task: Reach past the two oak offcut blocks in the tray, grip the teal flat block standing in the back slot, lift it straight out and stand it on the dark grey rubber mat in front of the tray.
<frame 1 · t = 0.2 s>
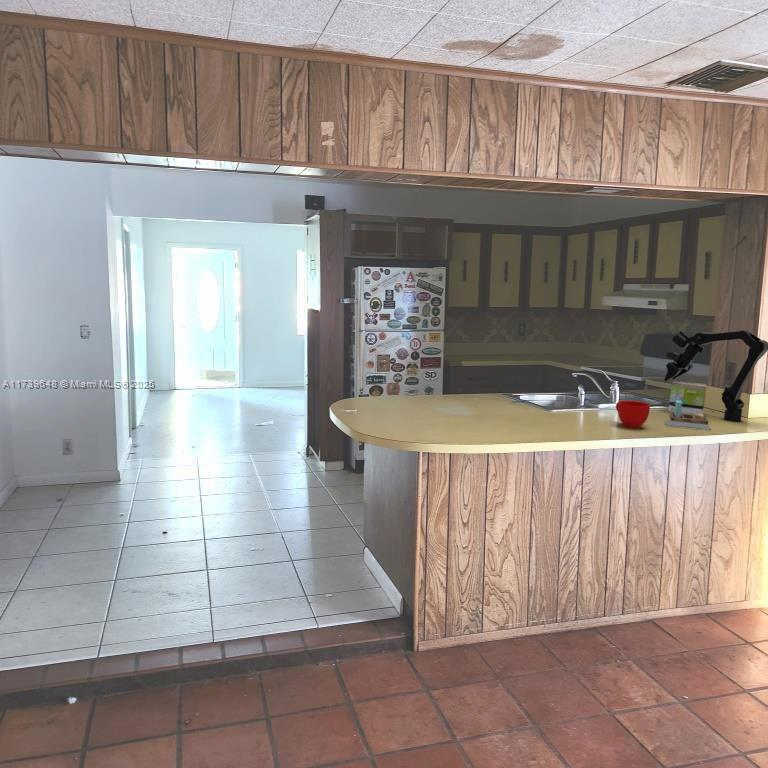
hand: (668, 379, 328), 15 cm above the worktop, tool tilted 30°, fingers open, 9 cm apart
offcut upper: (698, 417, 303), point 2 cm above the worktop, touching offcut lower
mat: (686, 426, 293), on the worktop
offcut lower: (697, 420, 303), point 1 cm above the worktop, touching offcut upper, tray
teal flat block: (676, 418, 306), point 1 cm above the worktop, touching tray
tea box: (685, 413, 324), on the worktop
ceramic cup: (628, 425, 291), on the worktop
tray: (686, 421, 305), on the worktop
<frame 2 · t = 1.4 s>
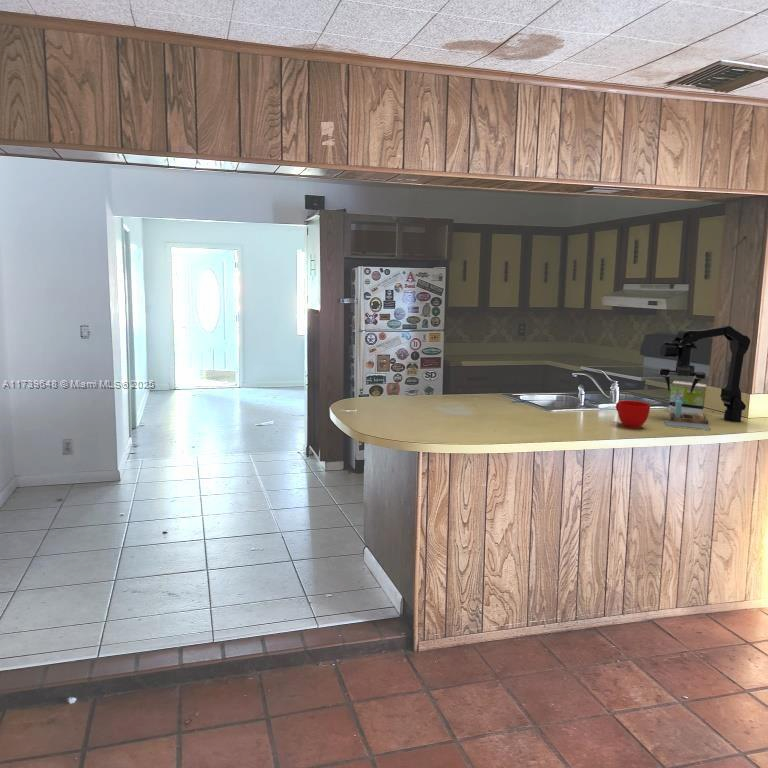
hand: (679, 392, 304), 13 cm above the worktop, tool pointing down, fingers open, 9 cm apart
nothing on the worktop moved.
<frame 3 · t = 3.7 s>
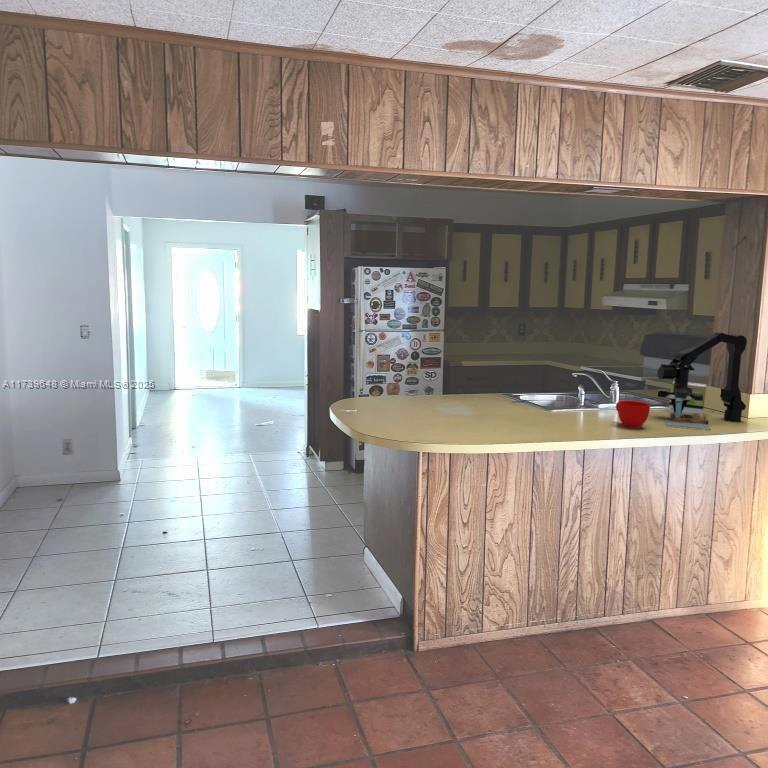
hand: (677, 413, 305), 3 cm above the worktop, tool pointing down, fingers closed on teal flat block, 2 cm apart
teal flat block: (676, 418, 306), point 1 cm above the worktop, touching gripper, tray
everything else where it was.
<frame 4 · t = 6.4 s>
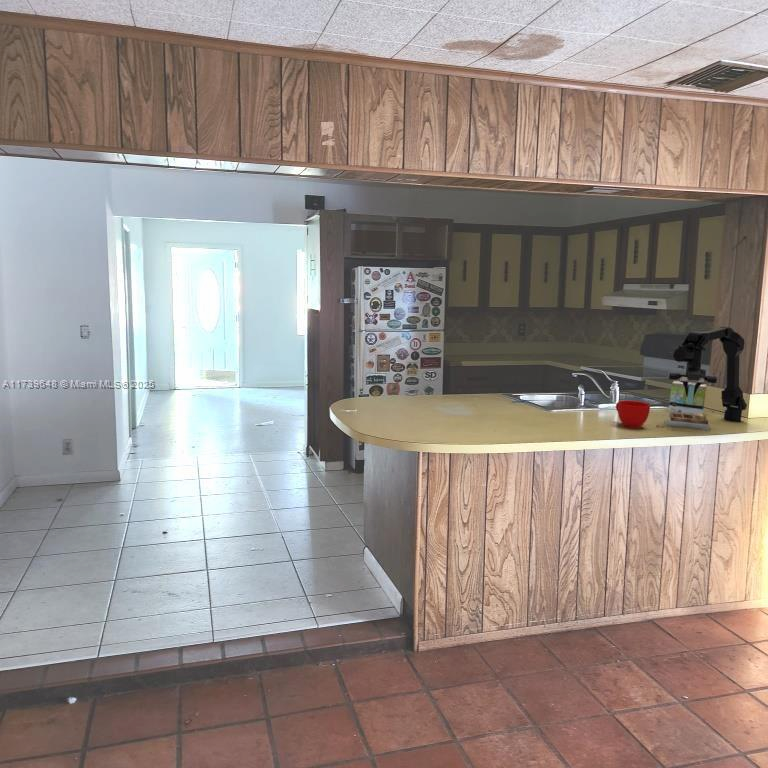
hand: (689, 397, 291), 13 cm above the worktop, tool pointing down, fingers closed on teal flat block
teal flat block: (689, 403, 291), point 10 cm above the worktop, touching gripper
everything else where it was.
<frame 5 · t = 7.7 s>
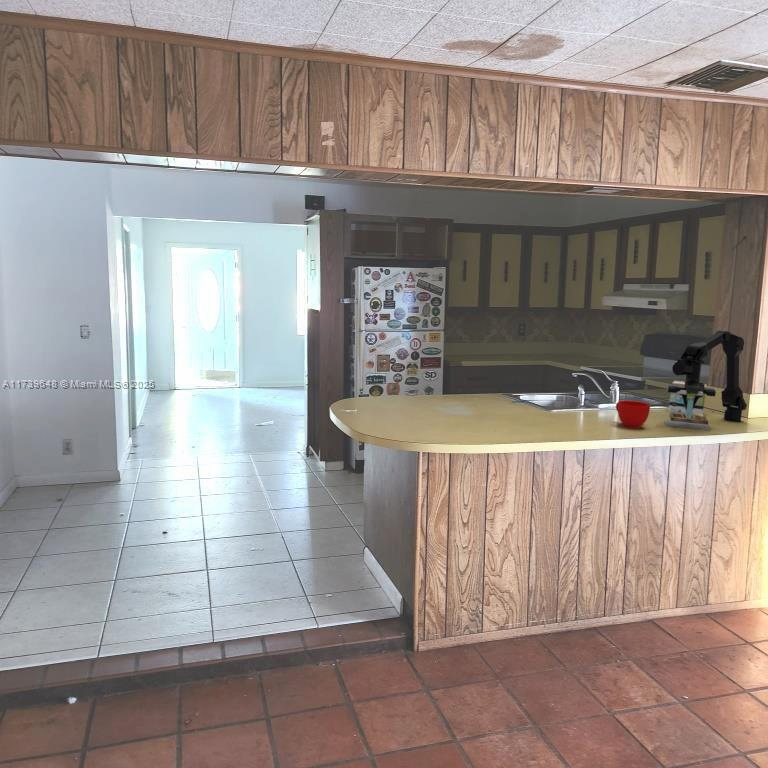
hand: (688, 409, 292), 7 cm above the worktop, tool pointing down, fingers closed on teal flat block
teal flat block: (688, 416, 292), point 4 cm above the worktop, touching gripper
everything else where it was.
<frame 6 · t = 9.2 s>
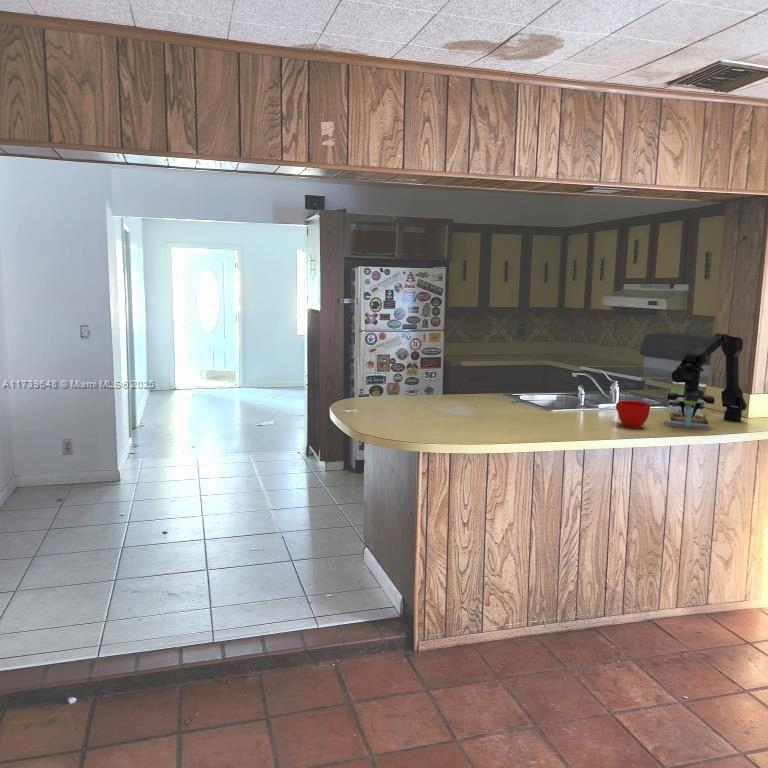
hand: (687, 417, 292), 4 cm above the worktop, tool pointing down, fingers open, 3 cm apart
teal flat block: (687, 424, 292), point 1 cm above the worktop, touching mat
everything else where it was.
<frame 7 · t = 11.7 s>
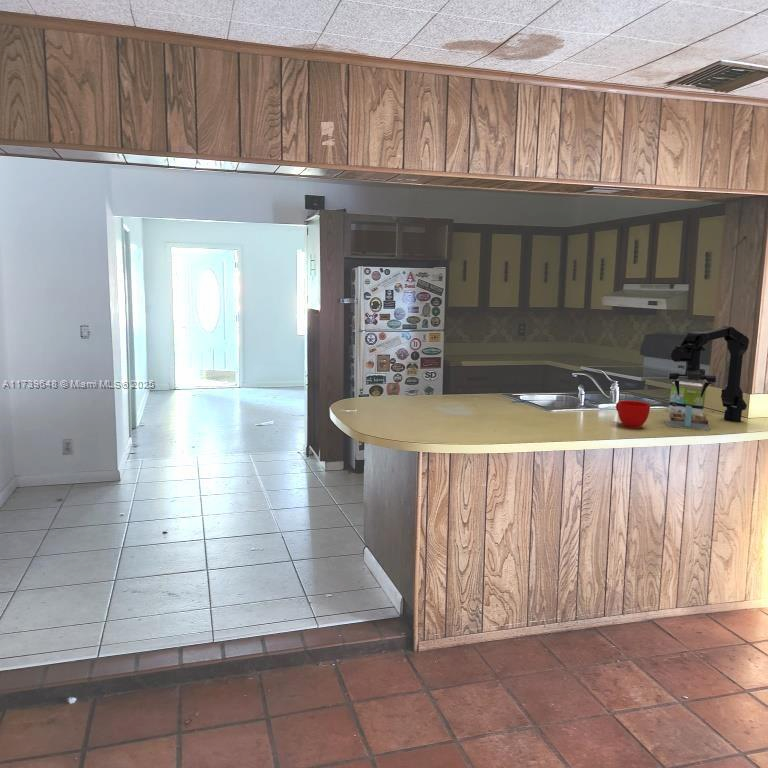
hand: (689, 396, 296), 13 cm above the worktop, tool pointing down, fingers open, 9 cm apart
nothing on the worktop moved.
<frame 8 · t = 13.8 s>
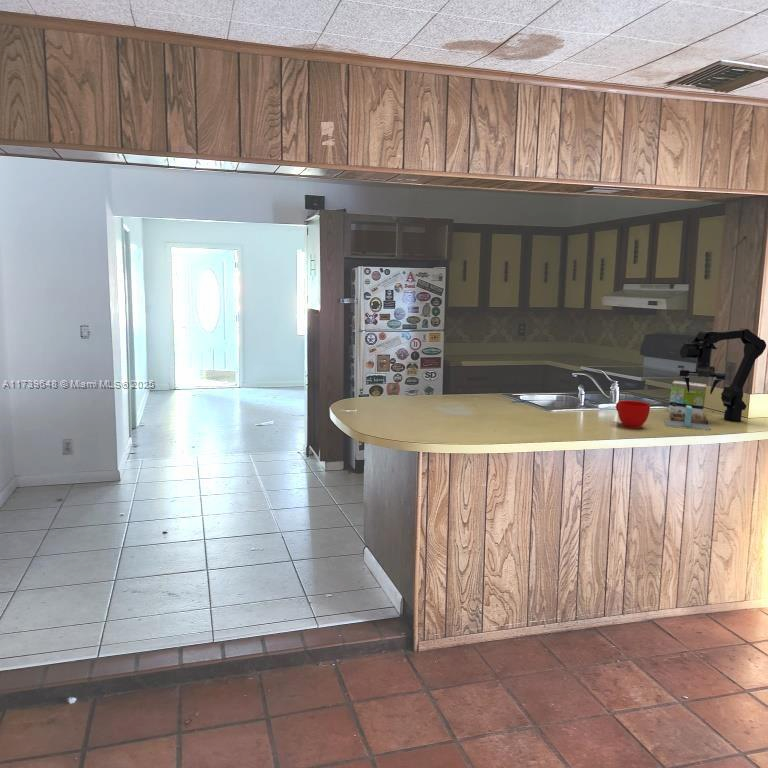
hand: (699, 393, 303), 13 cm above the worktop, tool pointing down, fingers open, 9 cm apart
nothing on the worktop moved.
at the end: teal flat block inside the target area (0.4 cm from its centre), point 0.8 cm above the worktop; the gripper is holding nothing; offcut upper moved 0.0 cm from its start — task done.
